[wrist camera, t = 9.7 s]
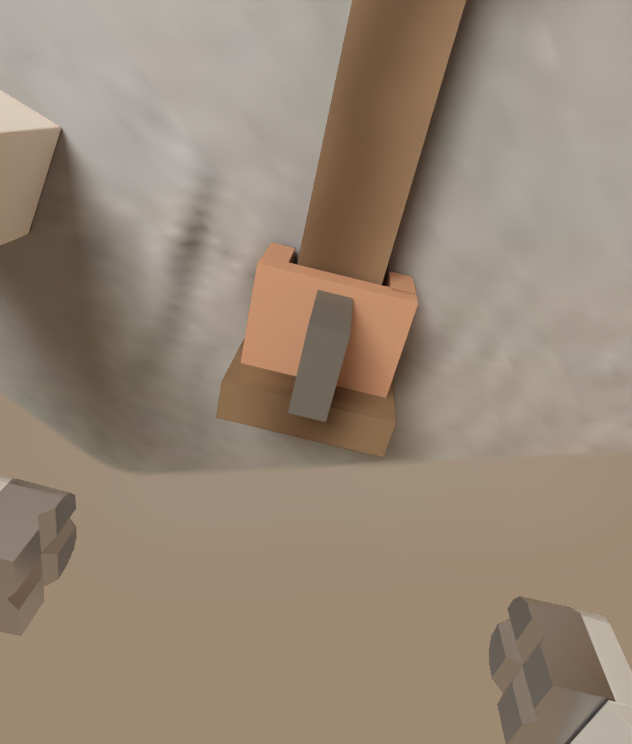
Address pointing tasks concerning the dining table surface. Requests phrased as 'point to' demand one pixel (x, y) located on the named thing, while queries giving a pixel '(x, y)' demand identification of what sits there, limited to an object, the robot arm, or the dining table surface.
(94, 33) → the dining table surface
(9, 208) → the milk
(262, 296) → the slider
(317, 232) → the rail
